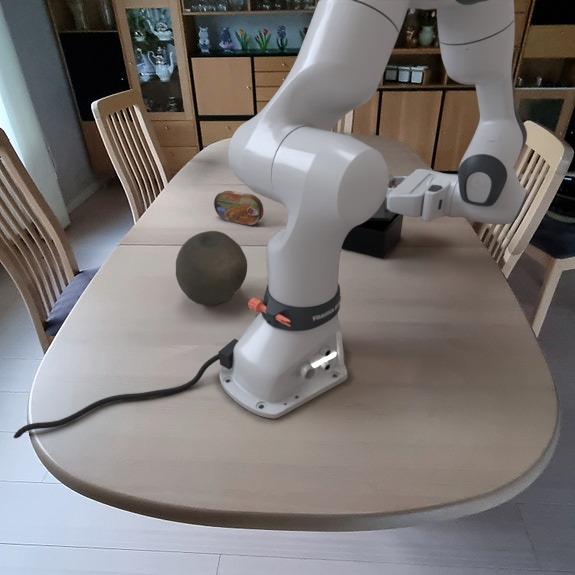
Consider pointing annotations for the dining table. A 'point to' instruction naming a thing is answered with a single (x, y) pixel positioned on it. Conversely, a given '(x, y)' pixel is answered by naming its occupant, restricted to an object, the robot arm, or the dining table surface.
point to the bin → (374, 237)
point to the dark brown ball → (210, 268)
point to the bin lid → (384, 208)
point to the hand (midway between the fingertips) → (382, 184)
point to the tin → (238, 207)
